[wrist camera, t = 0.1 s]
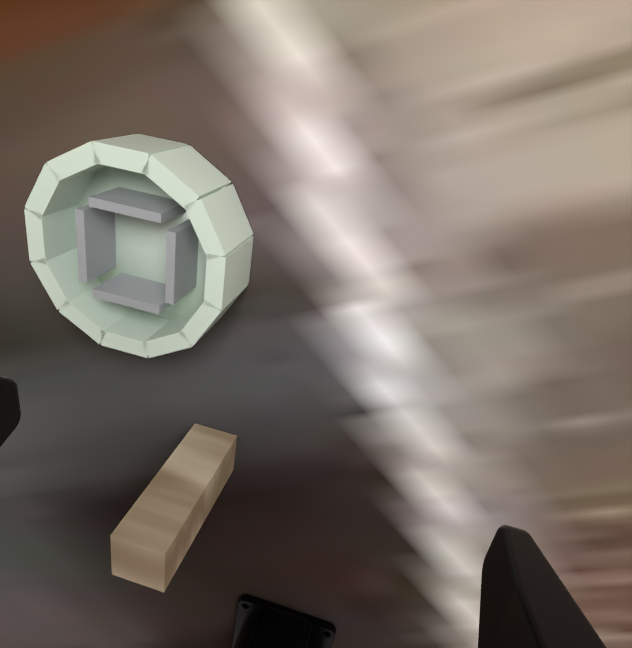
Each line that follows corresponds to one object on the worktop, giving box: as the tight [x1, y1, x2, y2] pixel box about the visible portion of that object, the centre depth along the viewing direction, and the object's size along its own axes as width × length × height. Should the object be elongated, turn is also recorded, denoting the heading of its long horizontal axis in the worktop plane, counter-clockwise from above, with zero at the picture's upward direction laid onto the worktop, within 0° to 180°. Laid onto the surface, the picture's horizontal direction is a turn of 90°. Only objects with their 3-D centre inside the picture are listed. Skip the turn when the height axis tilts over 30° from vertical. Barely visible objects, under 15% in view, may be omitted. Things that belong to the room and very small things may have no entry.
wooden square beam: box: [110, 423, 237, 592], centre depth 25 cm, size 2×2×8 cm
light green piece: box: [24, 134, 254, 358], centre depth 23 cm, size 9×9×3 cm
